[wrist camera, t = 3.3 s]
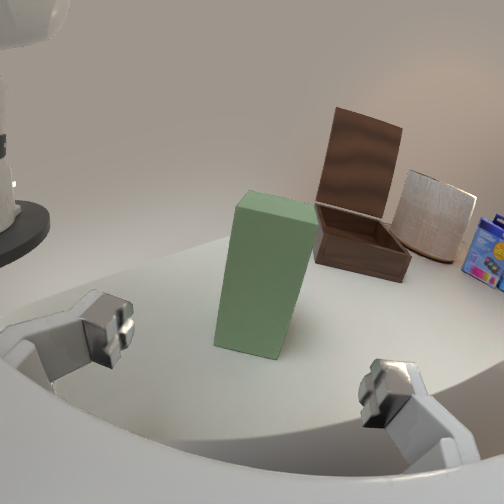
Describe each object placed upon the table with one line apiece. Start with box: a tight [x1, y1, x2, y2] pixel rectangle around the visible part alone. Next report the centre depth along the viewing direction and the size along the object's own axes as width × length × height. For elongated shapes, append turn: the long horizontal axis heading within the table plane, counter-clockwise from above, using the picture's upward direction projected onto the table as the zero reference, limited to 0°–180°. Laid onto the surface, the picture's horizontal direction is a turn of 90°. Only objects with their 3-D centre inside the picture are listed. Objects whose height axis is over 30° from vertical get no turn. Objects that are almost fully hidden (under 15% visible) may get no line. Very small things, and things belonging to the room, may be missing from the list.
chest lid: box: [316, 107, 402, 218], centre depth 51 cm, size 18×14×4 cm
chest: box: [313, 203, 412, 283], centre depth 46 cm, size 18×14×4 cm
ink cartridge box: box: [462, 214, 504, 288], centre depth 46 cm, size 10×6×14 cm, turn 45°
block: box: [214, 190, 319, 360], centre depth 21 cm, size 5×5×11 cm
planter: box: [390, 170, 476, 262], centre depth 56 cm, size 18×18×16 cm
